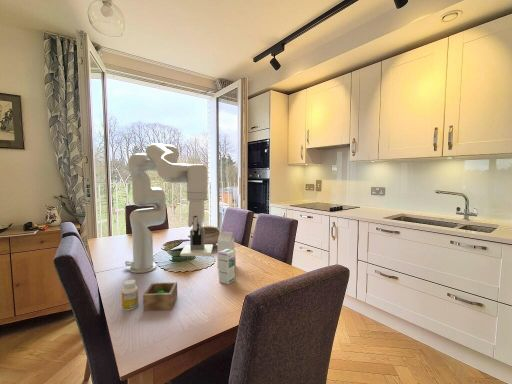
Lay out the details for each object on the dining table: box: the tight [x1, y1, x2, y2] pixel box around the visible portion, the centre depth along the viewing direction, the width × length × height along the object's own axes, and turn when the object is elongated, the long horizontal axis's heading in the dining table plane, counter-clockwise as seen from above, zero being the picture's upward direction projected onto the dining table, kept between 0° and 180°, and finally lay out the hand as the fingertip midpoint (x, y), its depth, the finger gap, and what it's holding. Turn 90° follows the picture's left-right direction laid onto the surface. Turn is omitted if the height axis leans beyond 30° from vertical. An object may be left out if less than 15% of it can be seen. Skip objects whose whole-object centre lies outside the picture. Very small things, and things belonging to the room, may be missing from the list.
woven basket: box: [187, 225, 221, 247], centre depth 168 cm, size 25×19×12 cm
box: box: [142, 281, 178, 312], centre depth 95 cm, size 10×10×6 cm
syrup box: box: [218, 249, 237, 285], centre depth 115 cm, size 6×6×14 cm
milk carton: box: [217, 231, 235, 269], centre depth 132 cm, size 7×7×19 cm
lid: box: [179, 228, 214, 257], centre depth 96 cm, size 11×11×8 cm
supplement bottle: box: [121, 279, 139, 311], centre depth 92 cm, size 5×5×10 cm
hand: (197, 243), depth 96 cm, fingers closed on lid, 3 cm apart
